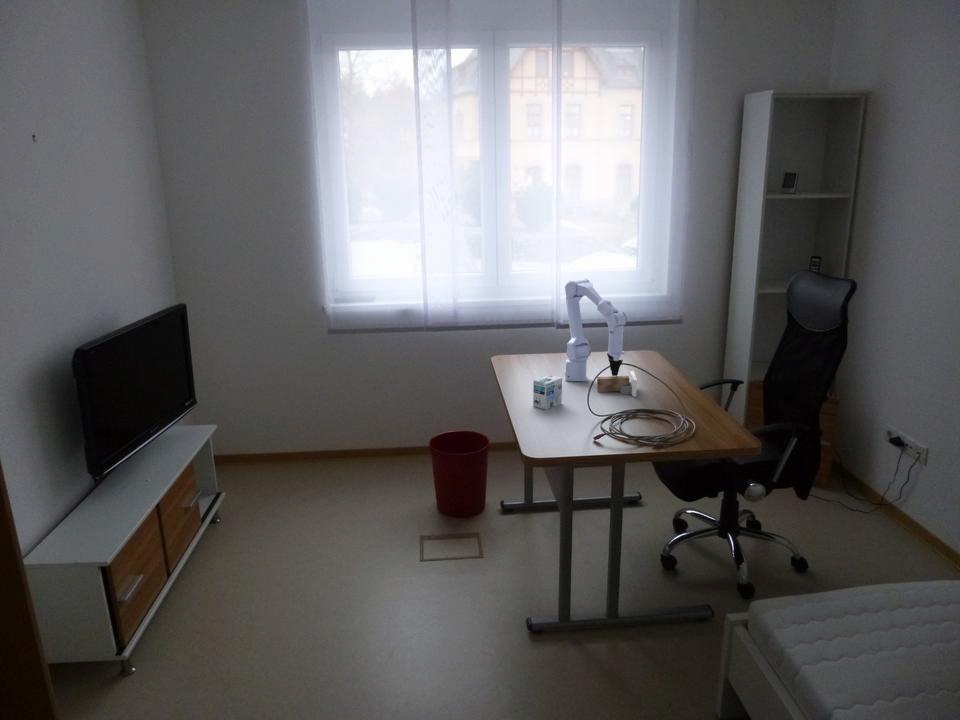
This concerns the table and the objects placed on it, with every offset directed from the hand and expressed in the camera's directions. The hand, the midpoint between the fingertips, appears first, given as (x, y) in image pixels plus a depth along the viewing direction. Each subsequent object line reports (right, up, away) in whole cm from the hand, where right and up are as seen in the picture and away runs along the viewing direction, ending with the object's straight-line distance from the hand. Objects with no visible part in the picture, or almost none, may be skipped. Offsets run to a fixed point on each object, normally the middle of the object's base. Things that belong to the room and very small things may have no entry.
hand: (613, 372), depth 288 cm
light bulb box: (-29, -13, -14) cm, 35 cm away
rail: (0, -7, +2) cm, 8 cm away
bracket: (+5, -8, +1) cm, 9 cm away
